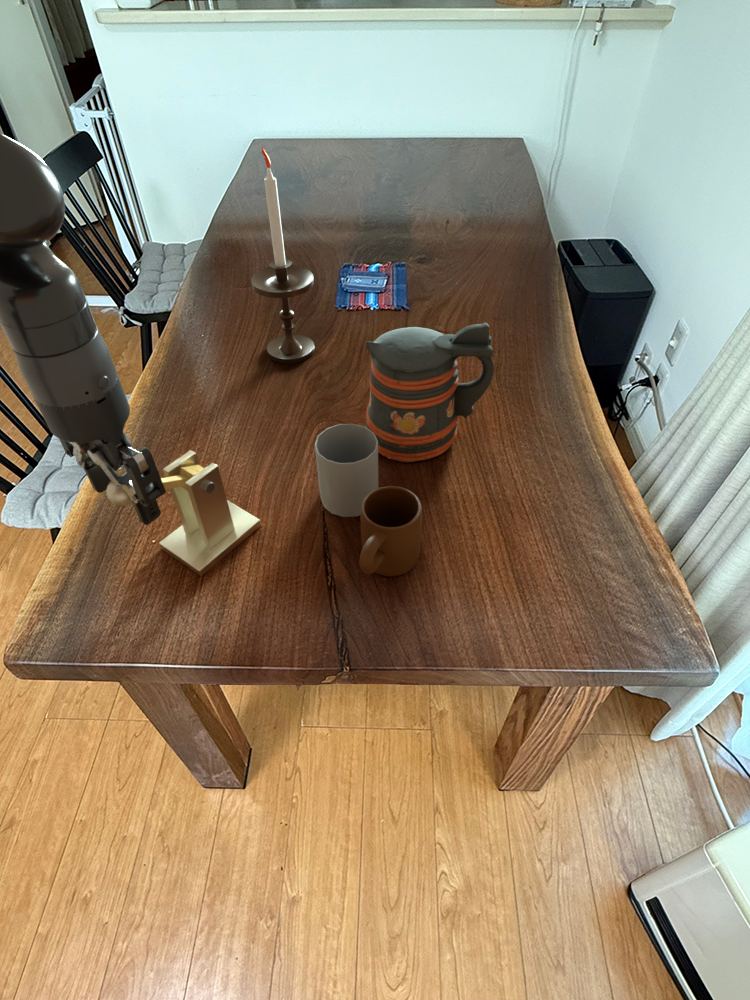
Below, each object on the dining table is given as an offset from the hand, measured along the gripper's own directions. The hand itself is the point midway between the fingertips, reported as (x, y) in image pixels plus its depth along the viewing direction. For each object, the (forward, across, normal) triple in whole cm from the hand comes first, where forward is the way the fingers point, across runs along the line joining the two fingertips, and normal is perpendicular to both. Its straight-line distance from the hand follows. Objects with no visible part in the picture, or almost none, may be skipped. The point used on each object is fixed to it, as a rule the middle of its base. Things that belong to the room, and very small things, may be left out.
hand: (127, 503), depth 67 cm
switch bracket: (+14, 0, +9) cm, 16 cm away
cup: (+14, +10, +26) cm, 31 cm away
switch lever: (+2, 0, +4) cm, 4 cm away
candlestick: (+14, -24, +51) cm, 58 cm away
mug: (+14, +22, +18) cm, 32 cm away
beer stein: (+14, +11, +44) cm, 48 cm away
